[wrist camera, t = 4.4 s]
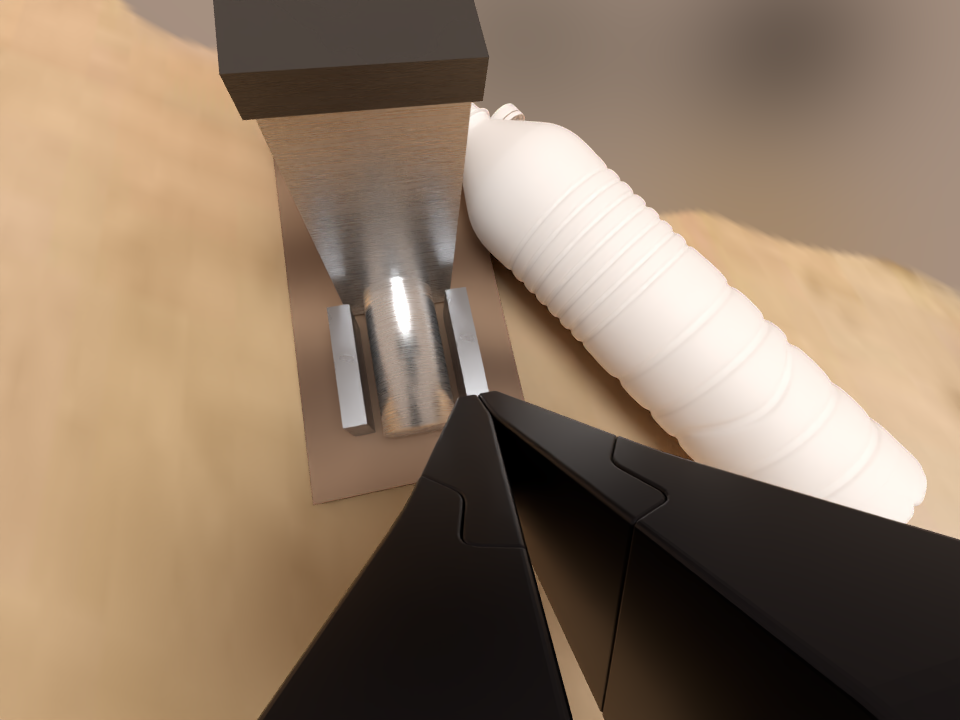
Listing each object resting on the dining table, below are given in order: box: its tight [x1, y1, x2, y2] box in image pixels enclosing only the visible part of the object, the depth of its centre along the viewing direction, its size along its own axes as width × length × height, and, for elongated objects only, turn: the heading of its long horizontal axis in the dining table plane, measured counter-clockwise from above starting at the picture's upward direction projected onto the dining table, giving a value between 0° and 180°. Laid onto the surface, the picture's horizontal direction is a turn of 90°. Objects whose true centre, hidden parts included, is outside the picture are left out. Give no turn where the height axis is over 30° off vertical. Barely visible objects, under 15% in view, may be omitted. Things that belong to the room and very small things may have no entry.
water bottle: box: [462, 103, 927, 524], centre depth 22 cm, size 9×6×25 cm
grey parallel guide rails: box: [327, 287, 489, 437], centre depth 19 cm, size 5×6×3 cm
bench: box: [273, 157, 524, 505], centre depth 20 cm, size 22×10×6 cm, turn 12°
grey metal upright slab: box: [213, 0, 489, 437], centre depth 15 cm, size 13×5×13 cm, turn 12°
